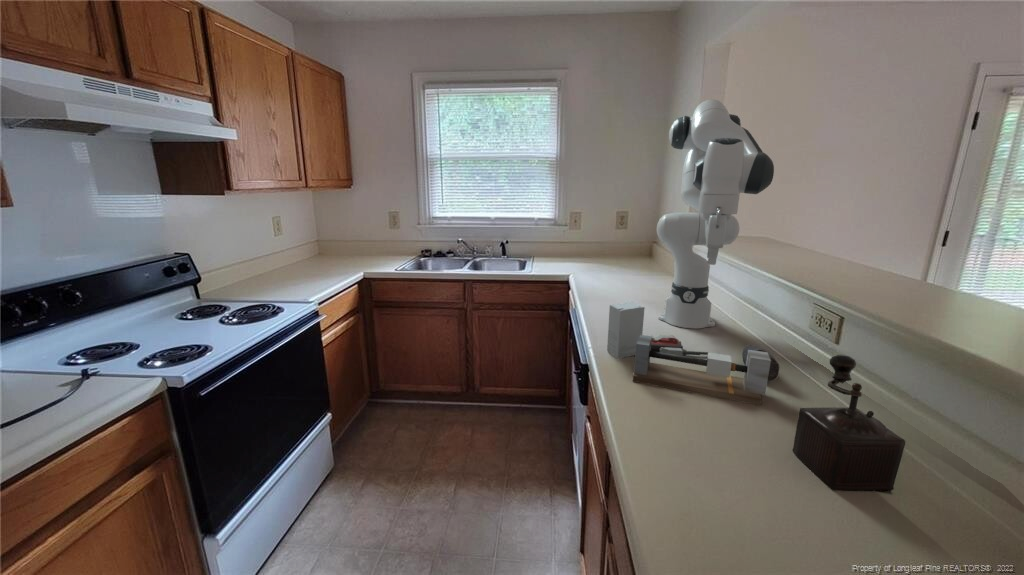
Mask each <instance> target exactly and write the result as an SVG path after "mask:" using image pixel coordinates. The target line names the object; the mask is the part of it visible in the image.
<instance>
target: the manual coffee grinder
mask: <svg viewBox="0 0 1024 575" xmlns="http://www.w3.org/2000/svg"><path fill="white" fill-rule="evenodd" d="M829 365H830V366H831V367H832V368H833V371H834V374H833V375H832V377H831V378H832V380H829V381H828V382H827V387H828V388H830V389H831V390H834V391H836V392H838V393H840V394H843V395H845V396H850V401H849V405H848V407H800V409H799V412H798V418H797V421H796V422H797V423H796V428H795V436H794V442H793V448H792V452H793V454H794V455H795V457H796V458H797V459H798V460H799V461H800V462H801V463H802V464H803V465H804V466H805V467H806V468H807V469H808V470H809V471H810V470H811V471H810V472H811V473H812V474H813V473H814V476H815V477H817V478H818V479H819V480H820V481H821V482H823V483H824V484H825V485H826V486H827V487H828V488H829V489H830V490H831V491H841V492H891V491H893V490H894V489H895V488H894V486H895V482H896V479H897V475H898V472H899V468H900V465H901V462H902V457H903V453H904V449H905V446H906V440H905V439H903V438H902V437H901V436H900V435H898V434H896V433H895V432H893V431H892V430H890V429H889V428H887V426H886V424H885V425H884V423H882V422H881V421H880V420H878V419H877V418H876V417H874V412H873V411H872V410H869V411H867V412H866V413H864V412H863V411H862V410H860V409H858V408H857V406H858V401H859V398H860V397H862V392H861V390H862V388H863V386H862V384H861V383H858V382H854V383H852V384H851V387H852V389H851V390H848V389H845V388H842V387H840V386H838V384H840V383H841V384H844V383H845V382H850V381H852V377H851V372H852V371H853V370H854V369H855V368H856V366H857V363H856V359H855V358H853V357H851V356H850V355H845V354H837V355H834V356H831V358H830V359H829Z"/></svg>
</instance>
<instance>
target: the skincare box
mask: <svg viewBox="0 0 1024 575" xmlns="http://www.w3.org/2000/svg"><path fill="white" fill-rule="evenodd" d="M645 309H646V308H645V306H643V305H641V304H638V303H636V302H635V301H627V302H621V303H615V304H614V303H613V304H609V309H608V310H609V312H608V327H607V328H608V329H607V345H606V346H607V348H606V350H607V352H608V353H610V354H611V355H613V357H615V358H616V359H621V358H627V357H632V356H636V345H637V341H638V339H639V336H640V335H643V333H644V332H643V331H644V316H645Z"/></svg>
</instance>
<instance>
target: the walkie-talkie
mask: <svg viewBox="0 0 1024 575" xmlns="http://www.w3.org/2000/svg"><path fill="white" fill-rule="evenodd" d="M651 336H652V342H651V351H655V352H662V353H668V354H674V355H681V356H687V355H688V356H690V355H691V356H701V355H703V356H708V352H709V351H695V350H692V351H691V350H684V345H682V341H680V340H679V339H678V338H676V337H675V336H674V335H667V334H665V335H664V334H660V335H659V336H657V337H654V336H653V335H651Z"/></svg>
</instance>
